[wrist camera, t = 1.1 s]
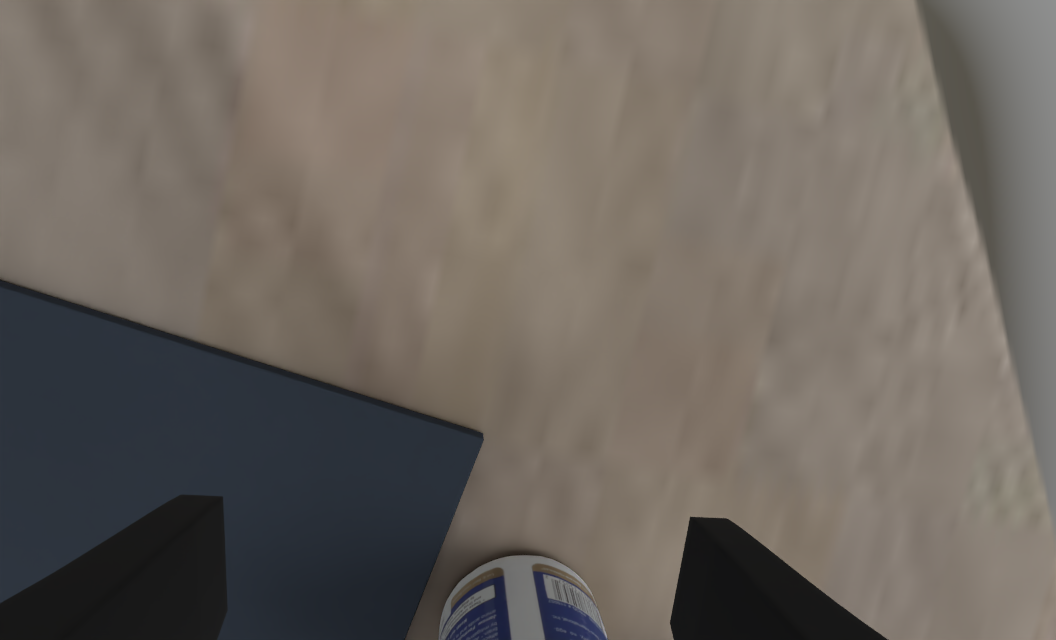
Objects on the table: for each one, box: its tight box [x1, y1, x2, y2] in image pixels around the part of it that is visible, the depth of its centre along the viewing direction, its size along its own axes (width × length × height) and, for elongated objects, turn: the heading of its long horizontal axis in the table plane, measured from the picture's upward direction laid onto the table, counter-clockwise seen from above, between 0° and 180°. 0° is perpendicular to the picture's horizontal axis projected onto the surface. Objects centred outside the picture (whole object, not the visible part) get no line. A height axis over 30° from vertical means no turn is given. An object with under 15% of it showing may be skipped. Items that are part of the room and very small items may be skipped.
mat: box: [0, 280, 484, 640], centre depth 20 cm, size 12×20×1 cm, turn 69°
